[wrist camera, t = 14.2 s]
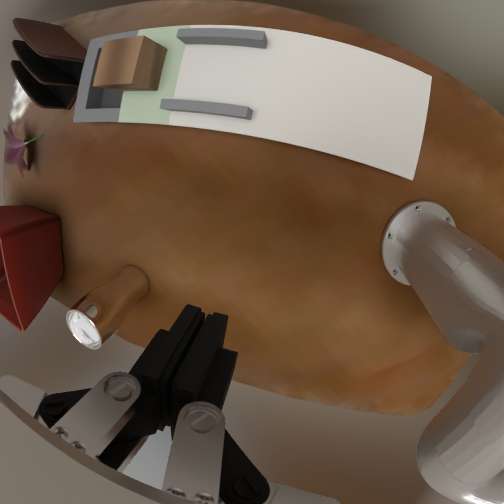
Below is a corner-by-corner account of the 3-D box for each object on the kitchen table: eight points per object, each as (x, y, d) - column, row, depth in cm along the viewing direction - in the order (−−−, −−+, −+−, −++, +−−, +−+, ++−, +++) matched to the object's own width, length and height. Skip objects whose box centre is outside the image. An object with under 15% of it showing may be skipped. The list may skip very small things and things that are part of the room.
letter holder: (60, 25, 28) (11, 14, 15) (101, 63, 31) (39, 50, 18) (35, 65, 31) (-15, 62, 18) (70, 110, 35) (8, 112, 22)
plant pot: (27, 265, 50) (-21, 296, 34) (20, 189, 42) (-38, 211, 27) (76, 291, 49) (24, 335, 33) (70, 203, 41) (-1, 234, 26)
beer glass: (125, 297, 46) (76, 346, 32) (114, 263, 44) (58, 306, 30) (156, 299, 45) (109, 354, 31) (146, 262, 42) (90, 310, 29)
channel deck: (419, 82, 26) (442, 71, 19) (401, 176, 31) (422, 184, 25) (105, 44, 29) (78, 35, 23) (89, 122, 35) (59, 122, 28)
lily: (31, 111, 36) (-6, 129, 30) (43, 107, 31) (-3, 129, 25) (42, 160, 44) (7, 180, 38) (55, 166, 39) (14, 190, 33)
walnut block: (167, 49, 26) (144, 35, 20) (157, 90, 28) (131, 83, 23) (130, 51, 26) (103, 41, 21) (120, 91, 29) (92, 86, 23)
